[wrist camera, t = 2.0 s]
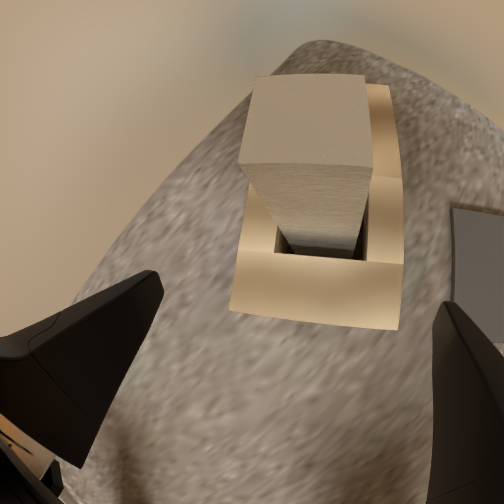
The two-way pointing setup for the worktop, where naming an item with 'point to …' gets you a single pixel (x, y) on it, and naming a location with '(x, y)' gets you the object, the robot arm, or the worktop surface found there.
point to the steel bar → (311, 158)
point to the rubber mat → (479, 269)
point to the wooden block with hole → (332, 269)
